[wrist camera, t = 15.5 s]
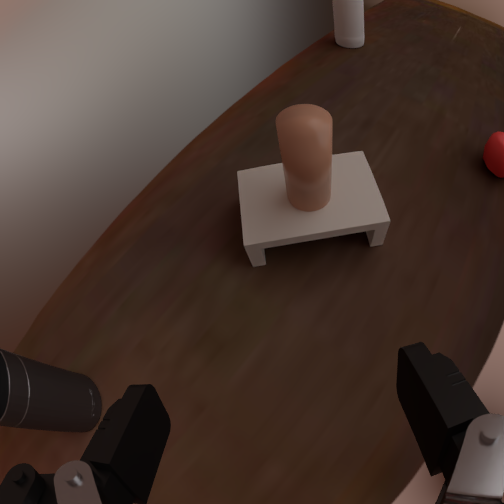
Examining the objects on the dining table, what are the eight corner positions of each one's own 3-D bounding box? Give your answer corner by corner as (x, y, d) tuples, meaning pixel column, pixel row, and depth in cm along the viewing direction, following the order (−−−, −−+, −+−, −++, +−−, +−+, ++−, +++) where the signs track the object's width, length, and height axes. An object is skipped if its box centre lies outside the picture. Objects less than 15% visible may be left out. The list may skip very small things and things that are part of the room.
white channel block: (253, 266, 43) (243, 245, 38) (245, 196, 49) (237, 171, 44) (382, 244, 41) (390, 220, 36) (359, 177, 47) (362, 150, 41)
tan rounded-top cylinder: (290, 214, 38) (279, 142, 28) (284, 180, 41) (272, 108, 31) (335, 208, 38) (338, 134, 27) (326, 174, 40) (324, 101, 30)
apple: (494, 148, 45) (507, 118, 38) (519, 178, 41) (536, 149, 34) (470, 157, 45) (483, 125, 38) (497, 190, 41) (515, 159, 34)
